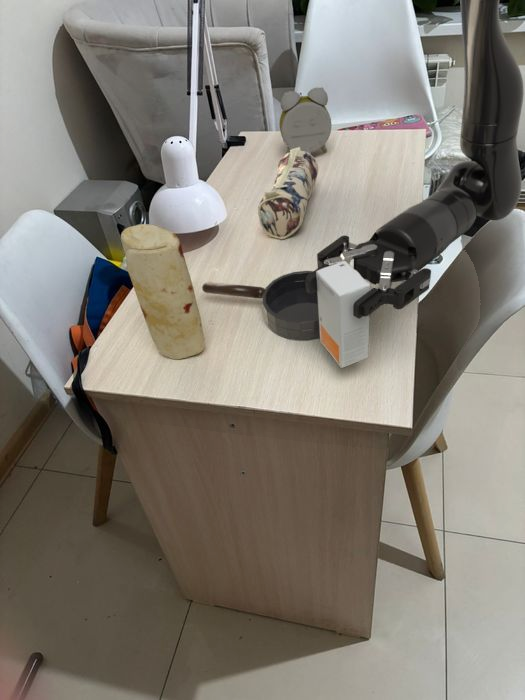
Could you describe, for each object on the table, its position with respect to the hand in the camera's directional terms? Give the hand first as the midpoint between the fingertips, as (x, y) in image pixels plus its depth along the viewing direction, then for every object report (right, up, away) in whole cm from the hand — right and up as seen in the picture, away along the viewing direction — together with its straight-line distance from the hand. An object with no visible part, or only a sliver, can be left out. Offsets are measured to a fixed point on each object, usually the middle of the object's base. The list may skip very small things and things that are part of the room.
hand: (331, 298), depth 60 cm
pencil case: (-2, +22, +44) cm, 49 cm away
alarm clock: (+3, +40, +62) cm, 74 cm away
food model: (-21, -6, +18) cm, 28 cm away
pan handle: (-13, +3, +22) cm, 25 cm away
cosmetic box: (+3, -6, +8) cm, 10 cm away
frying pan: (-1, 0, +20) cm, 20 cm away
